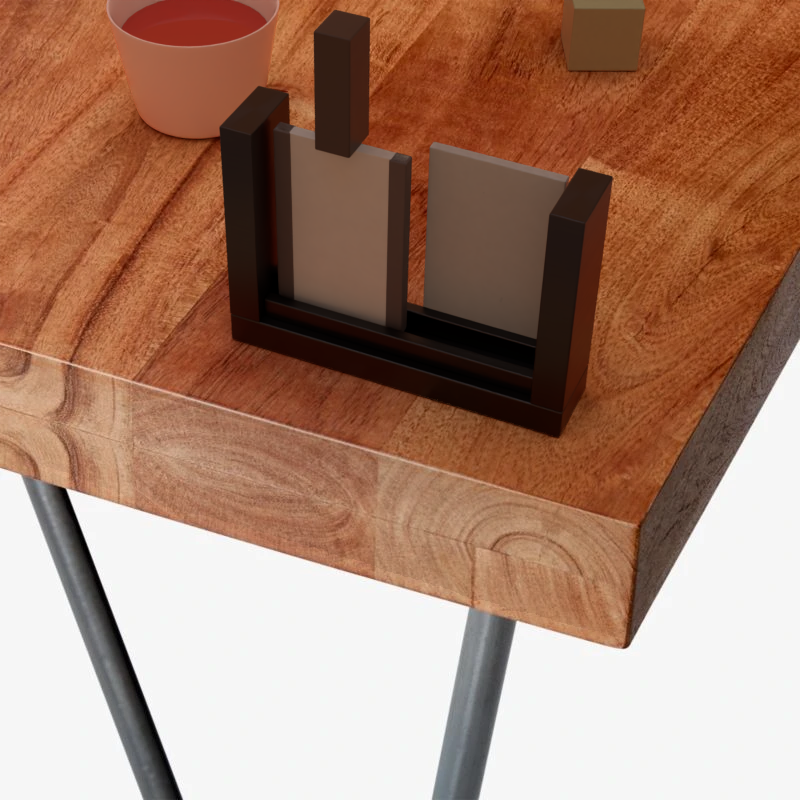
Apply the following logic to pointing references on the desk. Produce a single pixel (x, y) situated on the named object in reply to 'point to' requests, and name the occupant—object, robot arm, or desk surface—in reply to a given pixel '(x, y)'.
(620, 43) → the block
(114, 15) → the candle
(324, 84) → the sash
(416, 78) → the desk surface
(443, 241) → the window frame
